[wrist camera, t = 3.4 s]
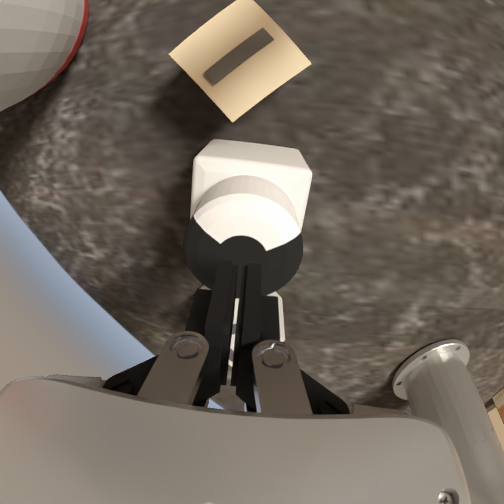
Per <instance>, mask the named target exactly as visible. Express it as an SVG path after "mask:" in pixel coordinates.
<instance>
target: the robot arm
mask: <svg viewBox="0 0 504 504" xmlns="http://www.w3.org/2000/svg"><path fill="white" fill-rule="evenodd" d="M261 273H262V263H255V262H248V265H243V266H242V275H241V284H240V293H239V303H238V312H237V321H236V331H235V342H234V353H233V365H232V376H231V386H236V395H237V396H238V397H239V398H240V399H241V400H243V401H244V411H233V410H224V409H215V408H207V406H208V403H209V398H210V397H212V396H214V395H215V394H217V393H218V392H219V393H220V385H226V381H227V373H228V364H229V355H230V346H231V338H232V329H233V321H234V310H235V298H236V286H237V275H238V264H233V260H226V259H220V261H219V265H218V270H217V274H216V278H215V283H214V287H213V290H208V289H199V288H198V289H197V291H196V294H195V298H194V301H193V305H192V308H191V311H190V315H189V318H188V322H187V325H186V329H185V331H181V332H178V333H175V334H173V335H172V336H170V337H169V339H168V340H167V341H166V343H165V345H164V347H163V349H162V350H161V352H160V354H159V355H157V356H155V357H153V358H151V359H149V360H147V361H145V362H143V363H140V364H138V365H136V366H134V367H132V368H129V369H127V370H125V371H123V372H121V373H118V374H116V375H114V376H112V377H111V378H109V379H108V380H102V379H101V377H82V376H68V375H50V376H47V377H43V376H35V377H24V378H19V379H16V380H14V381H11V382H10V383H9V384H7V385H6V386H5V387H4V388H3V389H2V390H1V391H0V504H504V452H503V449H502V447H501V444H500V442H499V439H498V437H497V434H496V432H495V429H494V427H493V425H492V422H491V420H490V417H489V415H488V413H487V410H486V408H485V406H484V404H483V402H482V399H481V397H480V395H479V393H478V391H477V389H476V387H475V385H474V383H473V381H472V379H471V376H470V374H469V373H468V371H467V369H466V366H467V363H468V361H469V356H470V354H469V350H468V348H467V346H466V345H465V343H464V342H462V341H460V340H456V339H448V340H443V341H439V342H436V343H433V344H431V345H429V346H427V347H425V348H423V349H421V350H420V351H418V352H417V353H415V354H414V355H412V356H411V357H410V358H409V359H408V360H406V361H405V362H404V363H403V364H402V365H401V367H400V368H399V369H398V370H397V372H396V373H395V375H394V378H393V381H392V388H393V390H394V393H395V395H396V396H397V397H399V398H401V399H405V400H408V402H409V405H410V408H411V411H412V414H413V416H411V415H409V414H408V413H406V412H404V411H401V410H393V409H385V408H378V407H371V406H365V405H359V404H354V405H353V406H347V404H346V403H345V402H344V401H343V400H342V399H340V398H339V397H337V396H336V395H335V394H333V393H332V392H331V391H329V390H328V389H326V388H325V387H324V386H322V385H321V384H320V383H318V382H317V381H316V380H314V379H313V378H311V377H310V376H309V375H307V374H306V373H305V372H303V371H302V370H301V369H299V365H298V362H297V358H296V355H295V353H294V351H293V349H292V348H291V347H290V346H289V345H287V344H286V343H284V342H281V341H280V324H279V306H278V297H277V296H267V295H261Z"/></svg>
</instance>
